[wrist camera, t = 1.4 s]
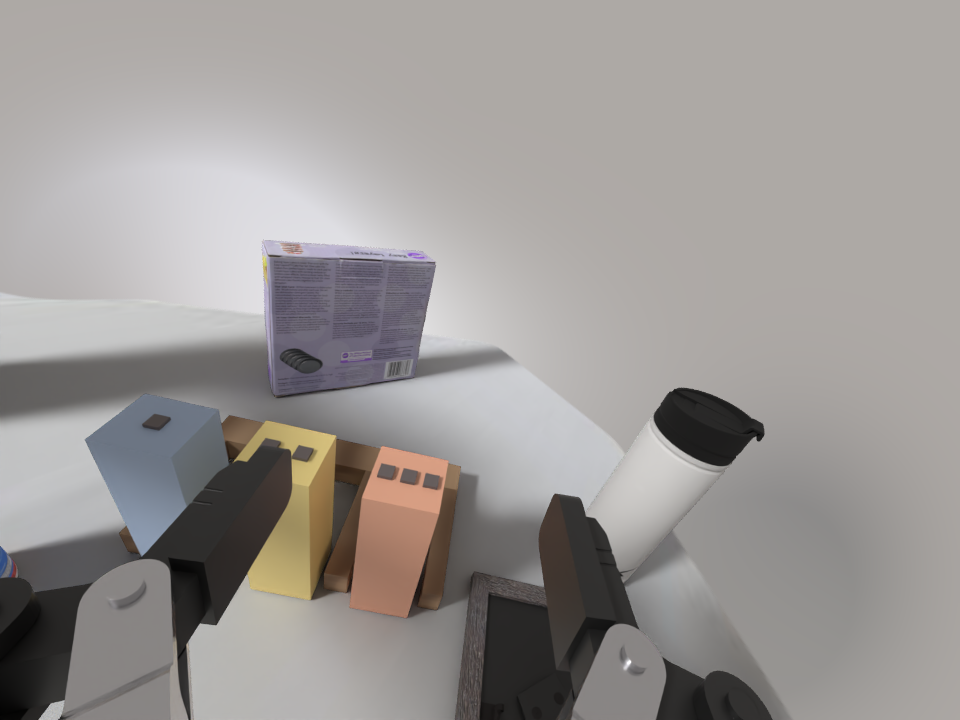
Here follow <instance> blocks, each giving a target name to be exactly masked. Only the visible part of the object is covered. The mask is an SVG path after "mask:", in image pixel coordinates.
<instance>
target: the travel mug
mask: <svg viewBox="0 0 960 720" xmlns="http://www.w3.org/2000/svg"><path fill="white" fill-rule="evenodd" d="M755 436H756V437H757V441H761V439H762V438H763V436H764V426H763V424H762V423H760V422H758V421H757V420H755V419H751V417H749V416H748V415H747V414H746V413H744V412H743V411H742V410H740V409H739V408H737V407H735V406H734V405H732V404H730V403H728V402H727V401H724V400H723V399H720V398H718V397H716V396H713V395H711V394H708V393H705V392H702V391H699V390H694V389H689V388H677V389H674V390H673V391H672V392H669V393H668V394H667V396H666V397H665V399H664V400H663V402H662V403H661V405H660V407H659V408H658V409H657V410H656V411H655V412H654V413H653V415H652V416H651V419H650V420H649V421H648V422H647V423H646V425H645V426H644V428H643V429H642V431H641V432H640V434H639V435H638V437H637V438H636V439H635V441H634V442H633V444H632V445H631V447H630V448H629V450H628V451H627V453H626V454H625V455H624V457H623V458H622V460H621V461H620V463H619V464H618V466H617V467H616V469H615V470H614V471H613V473H612V474H611V476H610V477H609V479H608V480H607V482H606V483H605V485H604V486H603V487H602V489H601V490H600V492H599V493H598V495H597V496H596V498H595V499H594V501H593V502H592V503H591V505H590V506H589V508H588V509H587V511H586V512H585V514H586V517H592V518H595V519H596V520H597V521H598V523H599V524H600V525H601V527H602V528H603V530H604V531H605V532H606V534H607V537H608V540H609V543H610V546H611V549H612V554H613V555H614V558H615V561H616V564H617V568H618V570H619V573H620V576H621V579H622V582H623V584H624V583H625V582H626V581H627V580H628V579H629V578H630V576H631V575H632V574H633V573H634V572H635V571H636V570H637V569H638V567H639V566H640V565H641V564H642V563H643V562H644V561H645V560H646V559H647V557H648V556H649V555H650V554H651V553H652V552H653V551H654V550H655V549H656V547H657V546H658V545H659V544H660V543H661V542H662V541H663V540H664V539H665V537H666V536H667V535H668V534H669V533H670V532H671V531H672V530H673V528H674V527H675V526H676V525H677V524H678V523H679V522H680V521H681V520H682V518H683V517H684V516H685V515H686V514H687V513H688V512H689V511H690V510H691V508H692V507H693V506H694V505H695V504H696V503H697V502H698V501H699V500H700V498H701V497H702V496H703V495H704V494H705V493H706V492H707V491H708V489H709V488H710V487H711V486H712V485H713V484H714V483H715V482H716V481H717V480H718V478H719V477H720V476H721V475H722V474H723V473H724V472H725V470H726V469H727V468H728V467H729V466H730V465H731V464H732V461H733V460H734V459H735V458H736V456H737V455H738V454H739V453H740V452H741V451H742V450H743V449H744V447H745V446H746V445H747V444H748V443H749V442H750V440H751V439H752V438H753V437H755Z"/></svg>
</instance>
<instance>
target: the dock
mask: <svg viewBox="0 0 960 720" xmlns="http://www.w3.org/2000/svg"><path fill="white" fill-rule="evenodd" d="M263 424H264V423H262V422H257V421H253V420H248V419H244V418H239V417H235V416H230V415H229V416H228V417H227V418H226V420H225V421H224V422H223V423H222V424H221V425H222V430H223V436H224V441H225V446H226V451H227V456H228V460H229V459H230V458H233V459H236V458H237V457H238V455H239V454H240V453H241V452H242V450H243V449H244V448H245V447H246V445H247V444H248V443H249V442H250V440H251V439H252V438H253V437H254V435H255V434H256V433H257V432H258V430H259V429H260V428H261V426H262V425H263ZM379 452H380V448H375V447H371V446H366V445H362V444H357V443H352V442H348V441H343V440H339V439H336V456H335V478H334V480H337V481H341V482H346V483H351V484H355V485H360V486H359V489H358V491H357V493H356V496H355V498H354V501H353V503H352V506H351V508H350V511H349V513H348V516H347V518H346V521H345V523H344V525H343V528H342V530H341V533H340V535H339V538H338V540H337V543H336V545H335V548H334V550H333V552H332V555H331V557H330V560H329V562H328V565H327V567H326V570H325V572H324V589H327V590H333V591H338V592H343V593H347V590H348V587H349V584H350V581H351V578H352V575H353V572H354V563H355V554H356V545H357V536H358V527H359V518H360V509H361V500H362V496H363V493H364V491H365V488H366V486H367V483H368V480H369V478H370V475H371V473H372V470H373V468H374V465H375V462H376V460H377V457H378V455H379ZM460 469H461V466H456V465H452V464H448V467H447V473H446V479H445V484H444V490H443V495H442V501H441V507H440V512H439V516H438V519H437V523H436V526H435V529H434V532H433V536H432V539H431V542H430V545H429V548H428V553H427V559H426V564H425V569H424V574H423V580H422V585H421V590H420V596H419V601H418V606H417V607H422V608H427V609H433V610H437V609H438V606H439V604H440V601H441V599H442V596H443V589H444V582H445V575H446V568H447V561H448V554H449V547H450V540H451V532H452V525H453V518H454V511H455V504H456V497H457V490H458V483H459V476H460ZM119 534H120V536H121V538H122V540H123V542H124V544H125V546H126V548H127V550H128V552H133V553H138V554H140V552H139V550H138V548H137V546H136V544H135V542H134V540H133V538H132V536H131V534H130V532H129V530H128V528H127V526H126V527H125V528H124V529H123V530H122V531H121V532H120V533H119ZM247 574H248V573H247Z"/></svg>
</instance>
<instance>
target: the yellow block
mask: <svg viewBox="0 0 960 720" xmlns="http://www.w3.org/2000/svg"><path fill="white" fill-rule="evenodd" d="M262 445H266V446H272V447H278V448H284V449H289V450H290V451H291V457H292V493H291V497H290V500H289V503H288V505H287V507H286V509H285V511H284V512H283V514H282V516H281V517H280V519H279V521H278V523H277V524H276V526H275V528H274V529H273V531H272V533H271V534H270V536H269V538H268V539H267V541H266V543H265V544H264V546H263V548H262V549H261V551H260V553H259V554H258V556H257V558H256V559H255V561H254V563H253V564H252V566H251V568H250V570H249V571H248V577H249V582H250V587H251V589H254V590H259V591H264V592H270V593H275V594H280V595H286V596H291V597H296V598H302V599H307V600H311V598H312V595H313V593H314V591H315V588H316V586H317V583H318V581H319V578H320V576H321V574H322V571H323V569H324V566H325V564H326V561H327V559H328V556H329V554H330V552H331V546H332V523H333V501H334V478H335V456H336V436H335V435H330V434H326V433H321V432H317V431H312V430H308V429H303V428H299V427H294V426H290V425H285V424H281V423H276V422H272V421H267V420H266V421H265V423H264V424H263V425H262V426H261V428H260V429H259V430H258V432H257V433H256V434H255V435H254V437H253V438H252V439H251V440H250V442H249V443H248V444H247V445H246V447H245V448H244V449H243V450H242V452H241V453H240V454H239V455H238V457H237V458H236V459H235V460H234V462H235V461H237V460H240V461H246V462H247V461H248V460H249V459H250V457H251V456H252V455H253V454H254V453H255V451H256V450H257V449H258V448H259V447H260V446H262Z"/></svg>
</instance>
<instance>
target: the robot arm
mask: <svg viewBox="0 0 960 720" xmlns="http://www.w3.org/2000/svg"><path fill="white" fill-rule="evenodd" d="M291 493H292V457H291V451H290V450H289V449H284V448H278V447H272V446H266V445H262V446H260V447H259V448H258V449H257V450H256V451H255V453H254V454H253V455H252V456H251V457H250V459H249V460H248V461H247V462H246V461H240V460H237V461H235V462H233V463H232V464H230V465H229V466H227V467H225V468H224V469H222V470H220V471H219V472H218V473H217V474H216V475H215V476H214V477H213V478H212V479H211V480H210V481H209V483H208V484H207V485H206V486H205V487H204V490H203V491H202V490H201V492H200V493H199V494H198V495H197V496H196V497H195V498H194V499H193V502H192V503H190V504H189V505H188V506H187V507H186V508H185V509H184V511H183V512H182V513H181V514H180V515H179V516H178V517H177V518H176V519H175V521H174V522H173V523H172V524H171V525H170V526H169V527H168V528H167V530H166V531H165V532H164V533H163V534H162V535H161V536H160V537H159V538H158V540H157V541H156V542H155V543H154V544H153V545H152V546H151V547H150V549H149V550H148V551H147V552H146V553H145V554H144V555H143V556H142V557H141V558H140V559H139V560H136V561H132V562H129V563H126V564H123V565H121V566H119V567H117V568H114V569H113V570H111V571H109V572H108V573H106V574H104V575H103V576H102V577H100V578H99V579H98V580H97V581H96V582H94V583H90V584H86V585H80V586H73V587H67V588H60V589H54V590H47V591H41V592H35V593H34V591H33V589H32V587H31V586H30V584H29V583H28V582H27V581H26V580H24V579H21V578H16V577H5V578H0V720H38V719H39V718H40V717H41V715H42V714H43V713H44V712H45V710H46V709H47V708H48V706H49V705H50V704H51V703H54V702H58V701H62V700H65V702H64V708H63V712H62V715H61V717H60V719H58V720H194V716H193V701H192V686H191V671H190V657H189V644H188V641H189V639H190V638H191V636H192V635H193V633H194V632H195V630H196V628H197V627H198V625H199V624H200V623H201V624H209V625H217V623H218V622H219V620H220V618H221V617H222V615H223V613H224V612H225V610H226V608H227V606H228V605H229V603H230V601H231V600H232V598H233V596H234V595H235V593H236V591H237V590H238V588H239V586H240V585H241V583H242V581H243V580H244V578H245V576H246V575H247V573H248V571H249V570H250V568H251V566H252V564H253V563H254V561H255V559H256V558H257V556H258V554H259V553H260V551H261V549H262V548H263V546H264V544H265V543H266V541H267V539H268V538H269V536H270V534H271V533H272V531H273V529H274V528H275V526H276V524H277V523H278V521H279V519H280V517H281V516H282V514H283V512H284V511H285V509H286V507H287V505H288V503H289V500H290V497H291ZM539 551H540V558H541V565H542V572H543V580H544V587H545V594H546V601H547V608H548V615H549V622H550V629H551V636H552V643H553V650H554V657H555V664H556V670H561V671H569V672H570V673H571V679H572V685H573V687H572V689H571V690H570V692H569V694H568V697H567V699H566V701H565V703H564V705H563V707H562V709H561V712H560V714H559V716H558V718H557V720H772V718H771V716H770V714H769V712H768V710H767V708H766V707H765V705H764V704H763V702H762V701H761V700H760V698H759V697H758V696H757V695H756V694H755V692H754V691H753V690H752V689H751V688H750V687H749V686H748V685H746V684H745V683H744V682H743V681H741V680H740V679H739V678H737V677H735V676H734V675H732V674H729V673H727V672H723V671H714V672H712V673H710V674H709V675H708V676H707V677H706V678H705V679H703V678H701V677H699V676H697V675H695V674H693V673H691V672H689V671H687V670H685V669H683V668H681V667H679V666H677V665H674V664H672V663H671V662H669V661H667V660H666V659H664V658H663V657H662V656H661V654H660V652H659V651H658V649H657V647H656V646H655V645H654V643H653V642H652V641H651V640H650V639H649V638H648V637H647V636H646V635H645V634H644V633H643V632H641V631H640V630H639V628H638V626H637V623H636V621H635V618H634V615H633V612H632V609H631V606H630V603H629V600H628V597H627V594H626V591H625V588H624V585H623V582H622V579H621V576H620V573H619V570H618V568H617V564H616V561H615V558H614V555H613V554H612V549H611V546H610V543H609V540H608V537H607V534H606V532H605V531H604V530H603V528H602V527H601V525H600V524H599V523H598V521H597V520H596V519H595V518H592V517H586V514H585V511H584V507H583V504H582V501H581V499H580V498H579V497H574V496H567V495H561V494H554V495H553V497H552V500H551V502H550V505H549V507H548V510H547V512H546V515H545V517H544V520H543V522H542V525H541V528H540V533H539Z"/></svg>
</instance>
